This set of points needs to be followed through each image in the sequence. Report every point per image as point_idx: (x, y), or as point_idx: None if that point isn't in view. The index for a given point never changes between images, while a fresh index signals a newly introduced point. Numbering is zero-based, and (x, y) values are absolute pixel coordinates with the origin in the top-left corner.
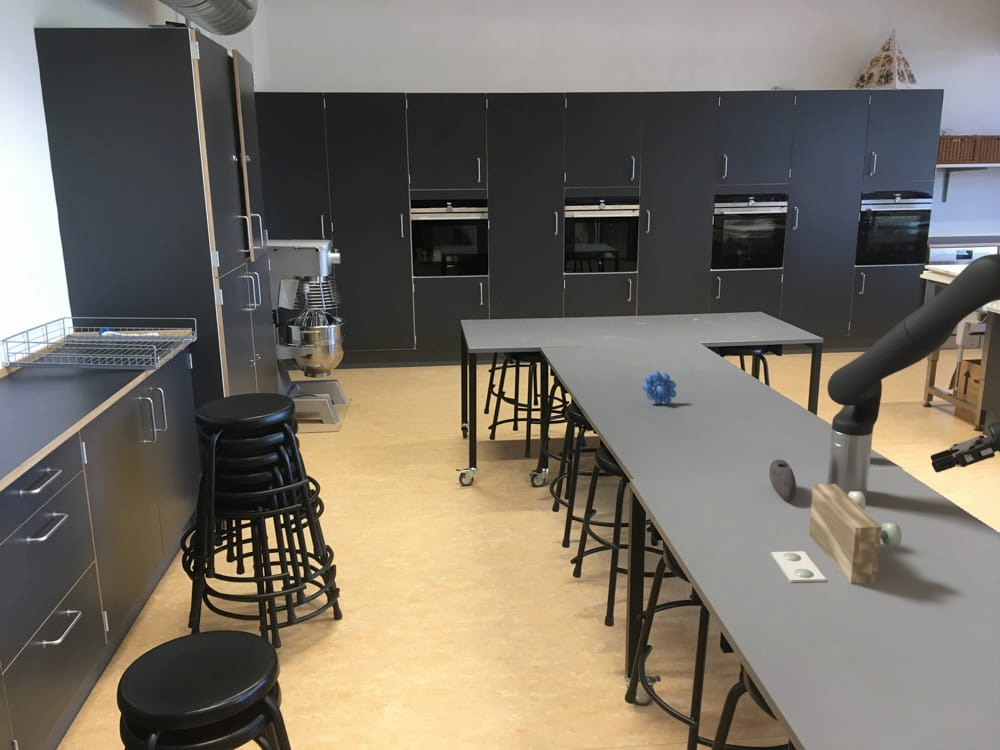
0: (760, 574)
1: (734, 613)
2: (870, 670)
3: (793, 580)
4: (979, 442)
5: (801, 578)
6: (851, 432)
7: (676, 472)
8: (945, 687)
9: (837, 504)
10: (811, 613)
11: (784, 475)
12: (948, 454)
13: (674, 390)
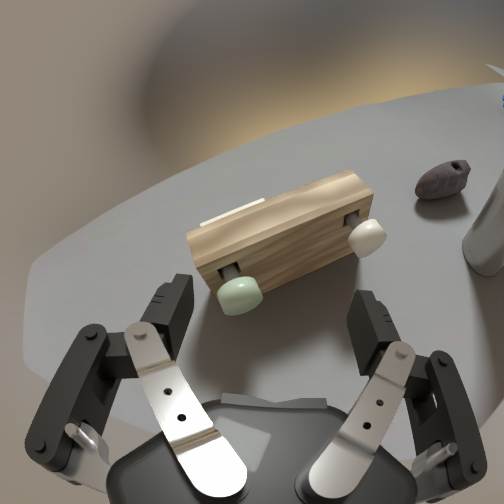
0: (211, 200)
1: (138, 200)
2: (71, 299)
3: (200, 226)
4: (187, 477)
5: None
6: None
7: (410, 120)
8: (56, 351)
9: (277, 202)
10: (142, 251)
11: (435, 169)
12: (369, 347)
13: None
